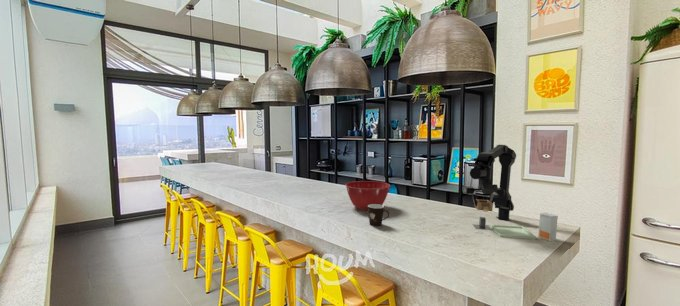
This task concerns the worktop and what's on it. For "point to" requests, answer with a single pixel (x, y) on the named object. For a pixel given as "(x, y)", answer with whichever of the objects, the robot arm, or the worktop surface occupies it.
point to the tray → (512, 231)
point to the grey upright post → (482, 224)
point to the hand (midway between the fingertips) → (483, 206)
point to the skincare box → (548, 226)
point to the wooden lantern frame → (484, 205)
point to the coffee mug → (376, 214)
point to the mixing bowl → (367, 193)
